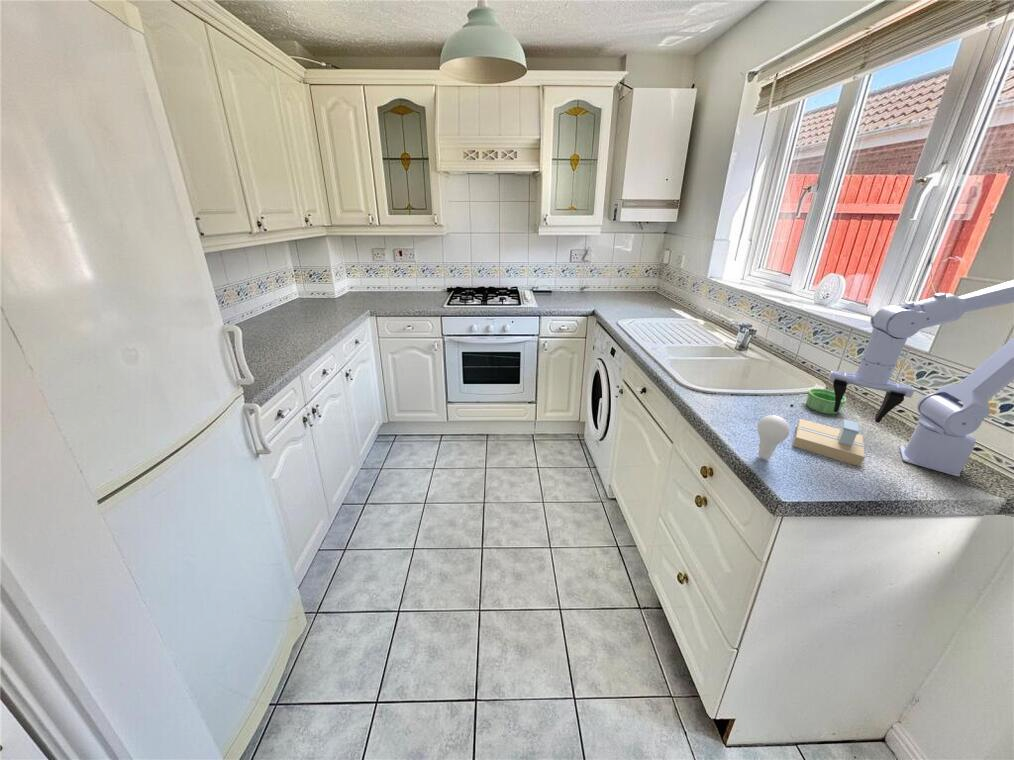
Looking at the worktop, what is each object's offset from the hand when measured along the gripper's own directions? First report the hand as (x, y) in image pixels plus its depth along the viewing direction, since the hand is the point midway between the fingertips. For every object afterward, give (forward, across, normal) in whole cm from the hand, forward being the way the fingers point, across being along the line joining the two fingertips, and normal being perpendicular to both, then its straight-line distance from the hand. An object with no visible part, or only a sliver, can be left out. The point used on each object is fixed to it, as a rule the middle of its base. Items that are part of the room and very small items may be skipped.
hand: (855, 415), depth 95 cm
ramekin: (+10, +5, -25) cm, 27 cm away
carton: (+9, +3, 0) cm, 10 cm away
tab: (+7, 0, 0) cm, 7 cm away
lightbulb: (+10, +15, +17) cm, 24 cm away
